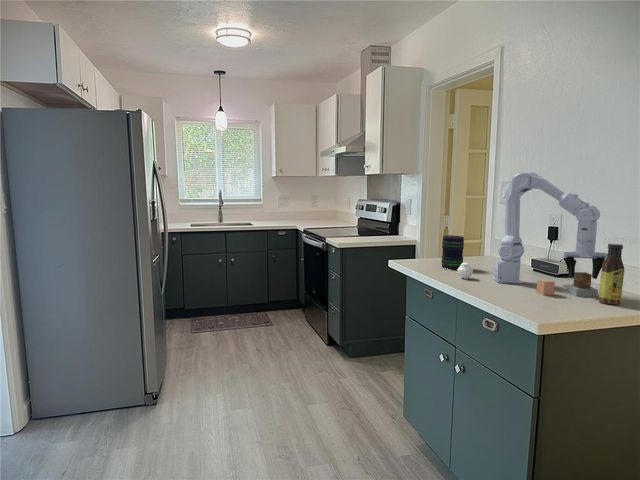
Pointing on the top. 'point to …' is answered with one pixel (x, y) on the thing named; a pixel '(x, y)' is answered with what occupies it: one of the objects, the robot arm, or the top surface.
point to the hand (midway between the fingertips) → (582, 278)
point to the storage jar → (452, 251)
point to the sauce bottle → (612, 276)
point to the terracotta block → (545, 287)
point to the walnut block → (582, 280)
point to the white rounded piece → (465, 270)
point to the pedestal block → (582, 291)
